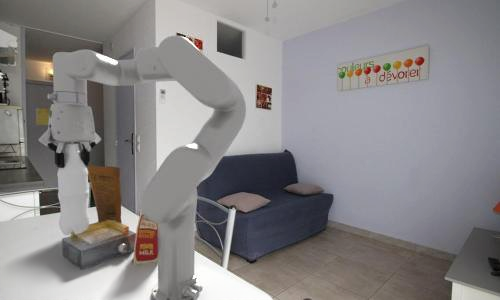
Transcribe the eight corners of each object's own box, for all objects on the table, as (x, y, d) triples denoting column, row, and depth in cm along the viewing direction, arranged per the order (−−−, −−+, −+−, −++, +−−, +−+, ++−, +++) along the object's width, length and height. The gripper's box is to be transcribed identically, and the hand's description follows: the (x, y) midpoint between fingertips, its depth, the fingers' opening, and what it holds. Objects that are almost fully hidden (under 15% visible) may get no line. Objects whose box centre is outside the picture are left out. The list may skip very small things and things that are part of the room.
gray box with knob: (140, 251, 94) (140, 228, 94) (84, 273, 79) (84, 246, 79) (115, 238, 105) (114, 217, 104) (61, 255, 90) (60, 231, 89)
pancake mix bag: (114, 236, 107) (113, 168, 105) (86, 227, 116) (84, 164, 114) (129, 230, 113) (128, 166, 111) (101, 222, 122) (99, 162, 120)
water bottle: (79, 237, 71) (76, 144, 69) (52, 236, 71) (49, 144, 69) (95, 227, 78) (92, 143, 76) (71, 227, 78) (68, 143, 76)
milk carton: (133, 264, 85) (132, 204, 84) (137, 251, 94) (137, 196, 93) (163, 261, 88) (162, 202, 86) (164, 249, 97) (164, 195, 95)
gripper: (37, 95, 63) (40, 171, 64) (109, 102, 77) (110, 164, 78) (26, 97, 67) (29, 168, 69) (97, 103, 81) (98, 162, 83)
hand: (73, 165), depth 73 cm, fingers closed on water bottle, 5 cm apart
